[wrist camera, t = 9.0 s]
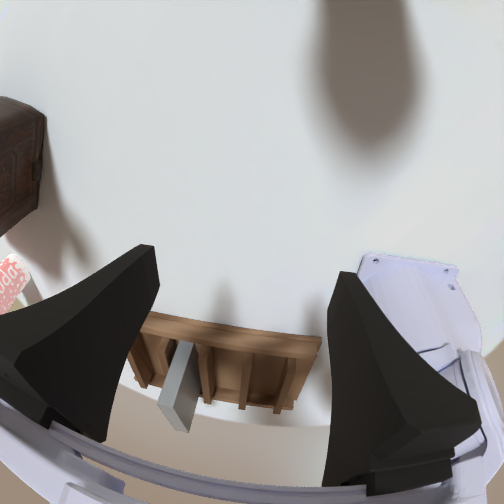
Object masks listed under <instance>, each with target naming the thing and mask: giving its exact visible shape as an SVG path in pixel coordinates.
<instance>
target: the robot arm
mask: <svg viewBox="0 0 504 504" xmlns="http://www.w3.org/2000/svg"><path fill="white" fill-rule="evenodd" d="M374 259H377V261H373V260H374ZM444 270H446V271H444ZM458 272H459V269H458V268H457V266H454V265H448V264H441V263H435V262H429V261H422V260H416V259H409V258H403V257H396V256H389V255H383V254H376V253H367V254H365V255H364V257H363V259H362V262H361V265H360V268H359V271H358V274H357V275H356V273H352V272H344V271H340V273H339V276H338V279H337V283H336V286H335V289H334V292H333V295H332V298H331V301H330V304H329V306H328V309H327V336H328V346H329V355H330V365H331V376H332V412H331V425H330V436H329V444H328V452H327V459H326V465H325V470H324V476H323V481H322V487H288V486H287V487H286V486H271V485H261V484H252V483H243V482H236V481H230V480H224V479H218V478H212V477H207V476H202V475H198V474H193V473H189V472H185V471H181V470H177V469H173V468H169V467H166V466H162V465H159V464H155V463H152V462H149V461H146V460H143V459H140V458H137V457H134V456H131V455H129V454H126V453H123V452H120V451H117V450H115V449H113V448H110V447H108V446H105V445H103V444H101V443H102V442H104V441H105V440H106V437H107V429H108V424H109V419H110V413H111V409H112V405H113V401H114V396H115V392H116V389H117V386H118V382H119V379H120V376H121V373H122V370H123V367H124V364H125V361H126V358H127V356H128V354H129V351H130V349H131V347H132V345H133V343H134V341H135V339H136V337H137V335H138V333H139V331H140V329H141V327H142V325H143V324H144V322H145V320H146V318H147V316H148V314H149V312H150V310H151V308H152V306H153V303H154V301H155V298H156V295H157V293H158V290H159V287H160V282H159V276H158V270H157V263H156V256H155V249H154V246H151V245H144V244H140V245H138V246H136V247H134V248H133V249H131V250H130V251H128V252H126V253H125V254H123V255H122V256H120V257H119V258H117V259H116V260H114V261H113V262H111V263H110V264H108V265H107V266H105V267H104V268H102V269H100V270H99V271H97V272H96V273H94V274H92V275H91V276H89V277H87V278H86V279H84V280H83V281H81V282H79V283H78V284H76V285H74V286H72V287H70V288H68V289H66V290H65V291H63V292H61V293H59V294H57V295H54V296H52V297H50V298H48V299H45V300H43V301H41V302H38V303H36V304H33V305H31V306H28V307H25V308H22V309H19V310H16V311H13V312H9V313H5V314H1V315H0V460H1V461H2V462H3V463H4V464H5V465H6V466H7V467H8V468H9V469H10V470H11V471H12V472H13V473H14V474H16V475H17V476H18V477H19V478H20V479H21V480H22V481H24V482H25V483H26V484H27V485H28V486H30V487H31V488H32V489H33V490H35V491H36V492H37V493H38V494H40V495H41V496H42V497H44V498H45V499H46V500H48V501H49V502H50V504H149V503H146V502H143V501H140V500H137V499H135V498H132V497H129V496H127V495H124V494H123V490H124V487H125V482H124V481H122V480H120V479H118V478H116V477H114V476H112V475H110V474H108V473H107V472H105V471H104V470H102V469H100V468H98V467H96V466H94V465H92V464H90V463H88V462H86V461H84V460H83V458H82V456H81V455H83V456H85V457H87V458H89V459H91V460H93V461H96V462H98V463H100V464H102V465H104V466H107V467H109V468H112V469H114V470H116V471H119V472H122V473H124V474H127V475H130V476H132V477H135V478H138V479H141V480H144V481H147V482H150V483H153V484H156V485H160V486H163V487H167V488H170V489H174V490H178V491H181V492H186V493H190V494H194V495H198V496H203V497H208V498H214V499H219V500H225V501H231V502H238V503H246V504H487V496H486V485H487V484H488V483H489V481H490V480H491V479H492V478H493V476H494V475H495V474H496V472H497V471H498V470H499V468H500V467H501V465H502V464H503V462H504V411H503V407H502V403H501V400H500V396H499V393H498V390H497V388H496V385H495V382H494V380H493V378H492V375H491V373H490V370H489V368H488V366H487V364H486V362H485V360H484V359H483V357H482V355H481V350H482V332H481V327H480V324H479V322H478V320H477V318H476V316H475V314H474V312H473V310H472V308H471V306H470V304H469V302H468V300H467V298H466V297H465V295H464V293H463V291H462V289H461V287H460V286H459V284H458V282H457V280H456V279H455V278H456V276H457V275H458ZM80 454H81V455H80Z"/></svg>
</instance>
